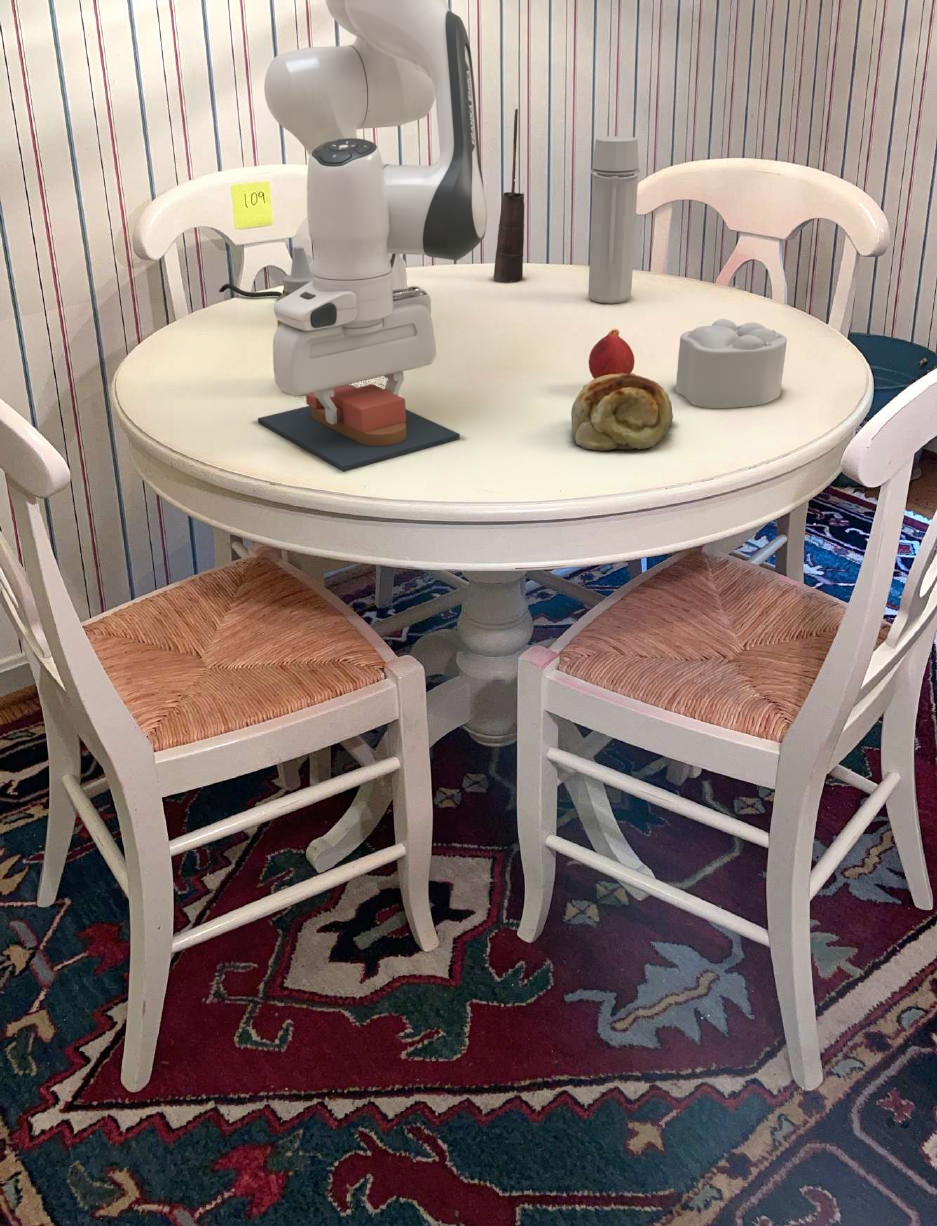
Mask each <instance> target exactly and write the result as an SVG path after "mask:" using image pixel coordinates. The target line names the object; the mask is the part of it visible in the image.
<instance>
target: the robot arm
mask: <svg viewBox="0 0 937 1226" xmlns="http://www.w3.org/2000/svg"><path fill="white" fill-rule="evenodd" d="M325 4H326V7H327V10H328V12H329V14H330V16H331V17H332V18H333V20H334V21H335V22H336V23H337V24H338V25H339V26H340V27H342V28H343V29H344V30H345V31H347V32H348V33H350V34H352V35H353V36H355V40H354V42H353V43H352V44H349V45H338V46H337V45H335V46H334V45H333V46H311V47H310V46H308V47H302V48H299V49H294V50H291V51H288V52H285V53H282V54H281V53H280V54H278V55H276V56H274V58H273V59H272V61H270V64H269V66H268V68H267V70H266V73H265V78H264V85H263V86H264V87H263V90H264V98H265V102H266V105H267V108H268V109H269V112H270V114H271V115H272V117H273V119H275V121H276V122H277V123H278V124H279V125H280V126H281V127H282V128H283V129H285V130H287V131H288V132H289V133H290V134H292V135H293V136H294V137H295V139H297V140H298V142H299V143H300V144H301V145H302V146H303V147H304V149H305V151H306V152H307V154H308V156H309V157H308V163H307V174H306V214H307V215H306V216H307V228H308V235H309V238H310V240H311V244H312V248H313V260H312V261H311V262H310V263H308V265H309V269H310V272H311V274H312V278H313V280H312V281H310V282H309V283H307V284H306V285H304V286H303V287H301V288H300V289H298V290H296V291H295V292H293V293H291V294H289V295H288V296H286V297H284V298H282V299H280V300H279V301H276V302H275V303H274V305H273V313H274V317H275V319H276V320H279V321H281V322H283V323H282V324H281V325H280V326H279V327H278V328H277V327H276V329H275V332H274V336H273V339H272V365H273V377H274V382H275V384H276V386H277V387H278V388H279V389H280V390H281V391H283V392H284V393H286V394H288V395H290V396H292V397H301V396H304V395H305V396H306V394H309V393H314V392H315V396H316V397H317V398H318V400H319V401H320V403H321V404H322V405H323V407H325V416H326V421H327V422H328V423H330V424H332V425H333V424H337V423H340V422H343V421H344V417H343V408H341V407H338V406H337V405H334V403H333V402H332V400H331V399H330V397H333V396H334V388H335V387H339V386H343V385H347V384H349V385H351V384H356V383H361V382H364V381H368V380H373V379H376V378H381V377H384V378H386V379H387V380H386V384H385V386H384V388H383V389H384V390H387V391H389V392H391V393H393V394H396V395H398V393H399V391H400V389H401V387H402V384H403V383H404V380H405V378H404V376H405V375H404V372H406V371H411V370H414V369H419V368H423V367H427V366H431V365H432V363H433V362H434V360H435V358H436V356H437V348H436V339H435V338H436V337H435V331H434V326H433V325H434V324H433V321H432V320H433V319H432V317H431V314H432V304H431V302H432V301H431V297H430V295H429V294H428V292H427V291H426V290H425V289H423V288H421V287H420V286H417V285H412V286H409V280H408V274H407V265H406V261H405V260H404V258H403V257H401V256H400V255H413V256H415V255H416V256H427V257H428V258H434V259H435V258H436V259H442V260H449V261H459V260H461V259H463V258H464V257H465V256H467V255H468V254H470V253H471V252H472V251H473V250H474V249H475V248H476V247H477V246H478V245H480V243H481V242H482V241H483V240H484V238H485V235H486V231H487V230H486V229H487V224H488V204H487V198H486V194H485V193H486V192H485V187H484V179H483V174H482V164H481V154H480V152H481V151H480V142H479V141H480V140H479V127H478V126H479V125H478V113H477V112H478V111H477V100H476V89H475V80H474V79H475V78H474V68H473V67H474V66H473V58H472V52H471V45H470V40H469V36H468V32H467V29H466V27H465V24H464V22H463V20H462V17H460V16H459V15H458V14H456V13H454V12H452V11H451V10H450V8H449V6H448V3H447V0H325ZM434 103H435V106H436V107H435V108H436V118H437V119H436V120H437V131H438V132H437V133H438V145H439V157H438V160H437V161H436V162H435V163H433V164H431V165H415V164H413V165H412V164H411V165H409V164H390V163H385V162H384V161H382V160H383V159H382V155H381V152H380V149H379V146H378V145H377V144H376V143H375V142H373V141H370V140H368V139H363V138H358V135H357V130H363V129H365V130H366V129H376V128H377V129H379V128H390V127H399V126H404V125H406V124H409V123H412V122H415V121H419V120H422V119H424V118H425V117H426V116H427V115H428V114H429V113H430V111H431V110H432V108H433V105H434ZM228 289H229V290H232V291H234V292H235V293H236V294H238V295H240V296H243V297H247V298H265V297H266V298H267V297H277V298H279V297H280V296H281V295H282V294H283V293H285V291H284V288H283V289H282V292H281V291H273V290H272V291H271V290H269V291H256V292H252V291H245V290H242V289H241V288H239V287H237V286H236V285H233V284H232V283H225V284H223V285H222V286H221V287H220V288H219V290H218V292H219V293H225V291H226V290H228Z"/></svg>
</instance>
